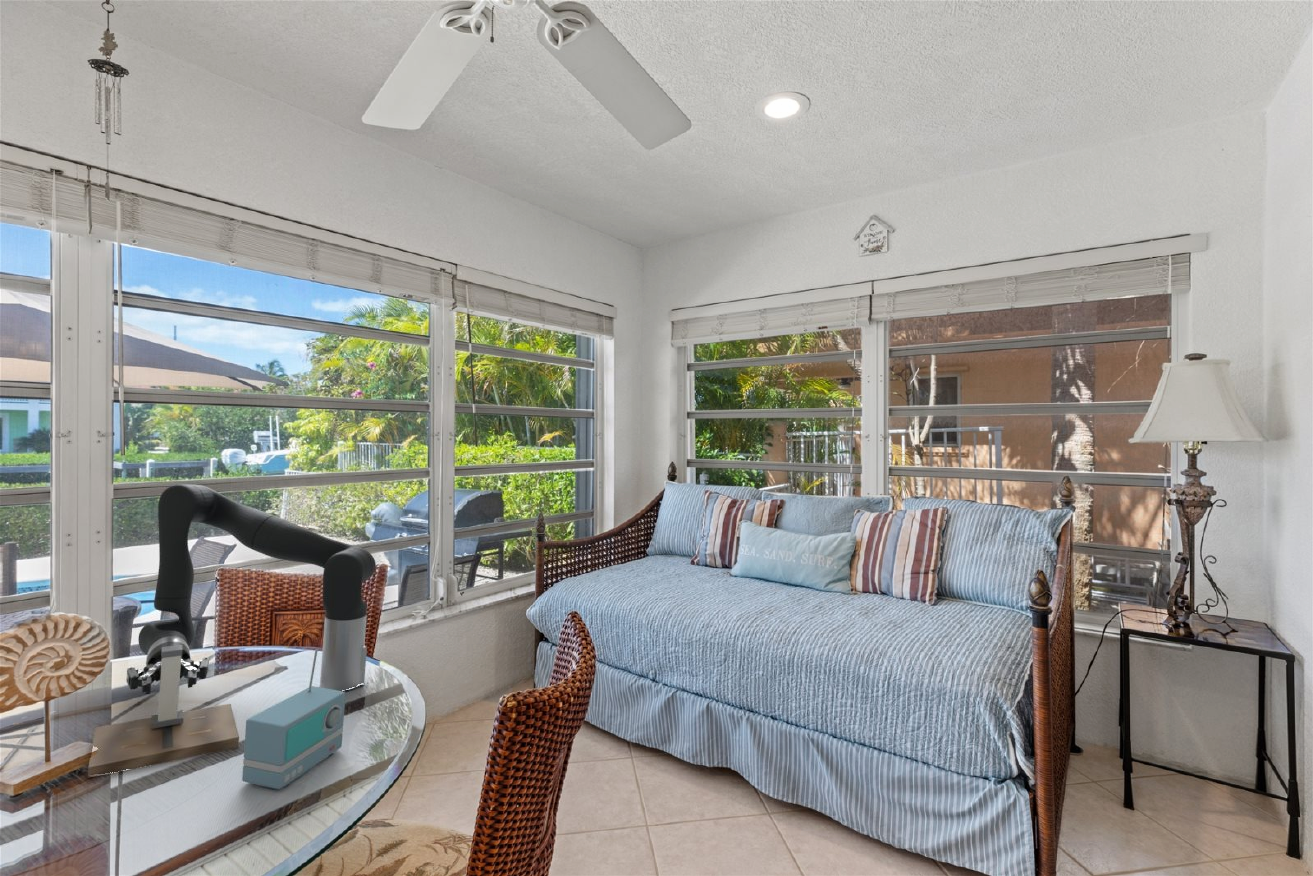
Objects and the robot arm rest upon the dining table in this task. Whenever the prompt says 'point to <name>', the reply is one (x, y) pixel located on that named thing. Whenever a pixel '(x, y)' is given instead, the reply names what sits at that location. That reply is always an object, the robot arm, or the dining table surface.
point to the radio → (293, 736)
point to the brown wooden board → (163, 740)
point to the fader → (169, 688)
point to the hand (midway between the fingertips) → (170, 686)
